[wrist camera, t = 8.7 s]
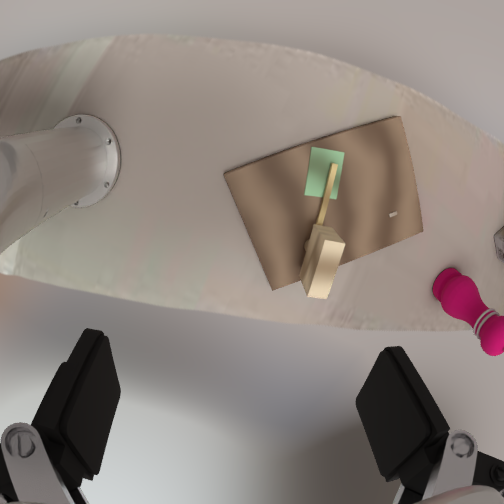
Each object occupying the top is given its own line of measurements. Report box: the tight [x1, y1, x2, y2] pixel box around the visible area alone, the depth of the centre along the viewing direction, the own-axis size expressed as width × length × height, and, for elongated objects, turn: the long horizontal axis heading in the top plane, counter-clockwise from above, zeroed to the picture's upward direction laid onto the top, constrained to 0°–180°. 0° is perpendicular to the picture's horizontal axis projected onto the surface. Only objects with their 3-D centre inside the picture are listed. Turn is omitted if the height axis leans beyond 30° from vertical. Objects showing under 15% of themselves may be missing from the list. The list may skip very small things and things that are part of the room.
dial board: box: [224, 116, 423, 291], centre depth 37 cm, size 24×17×2 cm
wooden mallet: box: [299, 163, 345, 299], centre depth 34 cm, size 14×2×7 cm, turn 169°
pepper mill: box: [433, 268, 504, 356], centre depth 36 cm, size 7×7×20 cm
